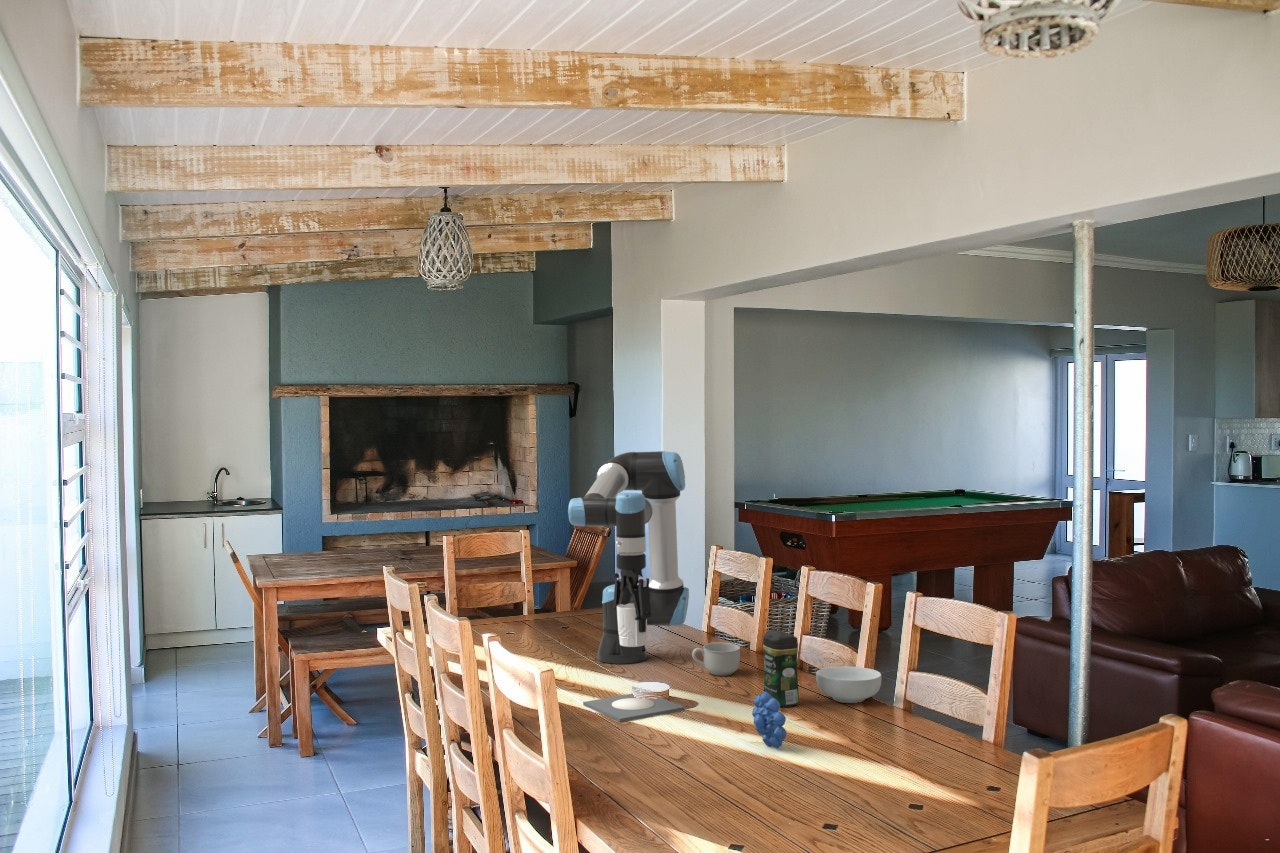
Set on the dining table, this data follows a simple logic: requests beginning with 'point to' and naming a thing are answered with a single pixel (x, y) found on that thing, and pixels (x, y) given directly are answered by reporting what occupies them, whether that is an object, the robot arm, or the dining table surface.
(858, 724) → the dining table surface
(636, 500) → the robot arm
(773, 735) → the grapes
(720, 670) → the teacup
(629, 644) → the white cup
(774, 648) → the coffee jar
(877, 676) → the cereal bowl
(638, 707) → the mat
